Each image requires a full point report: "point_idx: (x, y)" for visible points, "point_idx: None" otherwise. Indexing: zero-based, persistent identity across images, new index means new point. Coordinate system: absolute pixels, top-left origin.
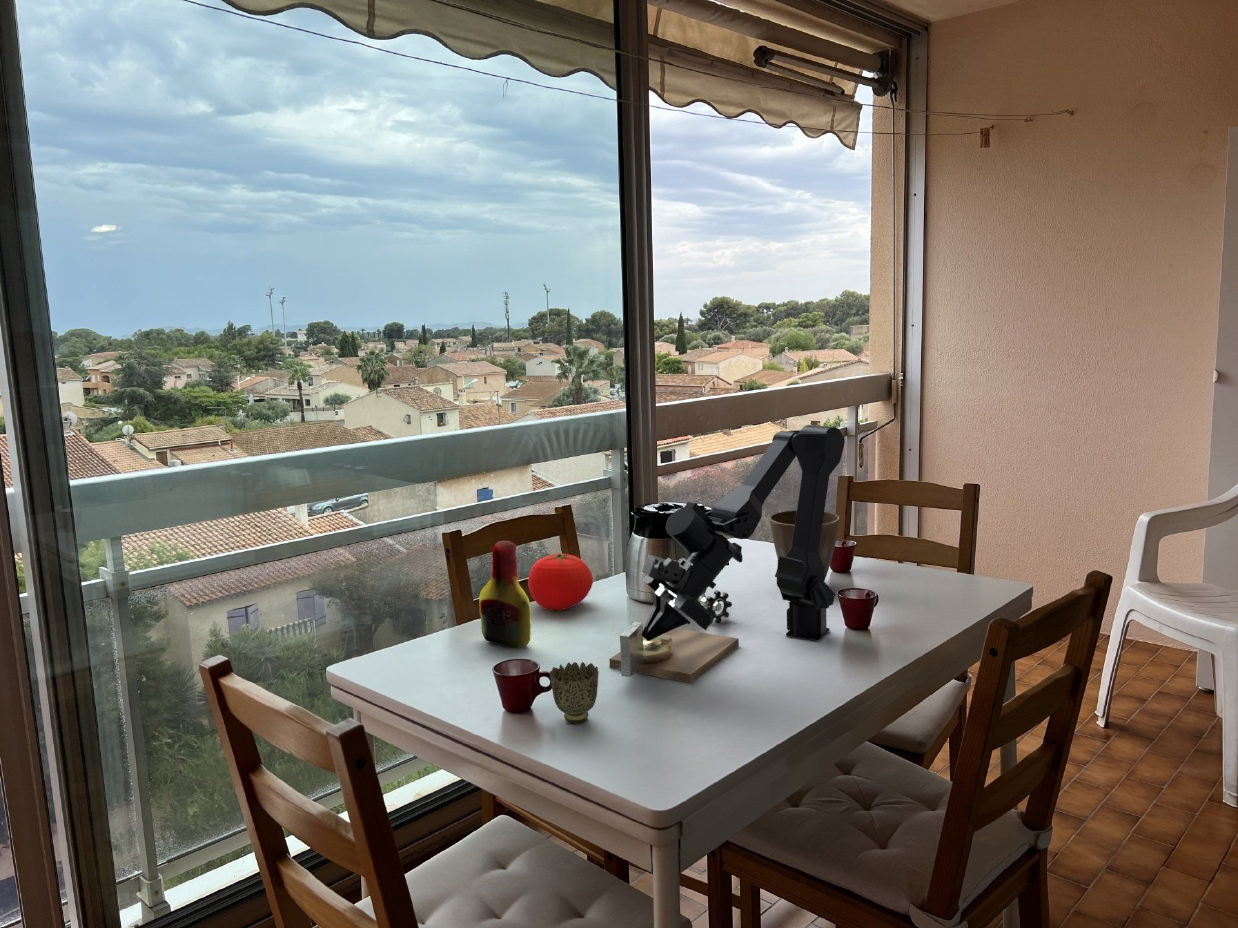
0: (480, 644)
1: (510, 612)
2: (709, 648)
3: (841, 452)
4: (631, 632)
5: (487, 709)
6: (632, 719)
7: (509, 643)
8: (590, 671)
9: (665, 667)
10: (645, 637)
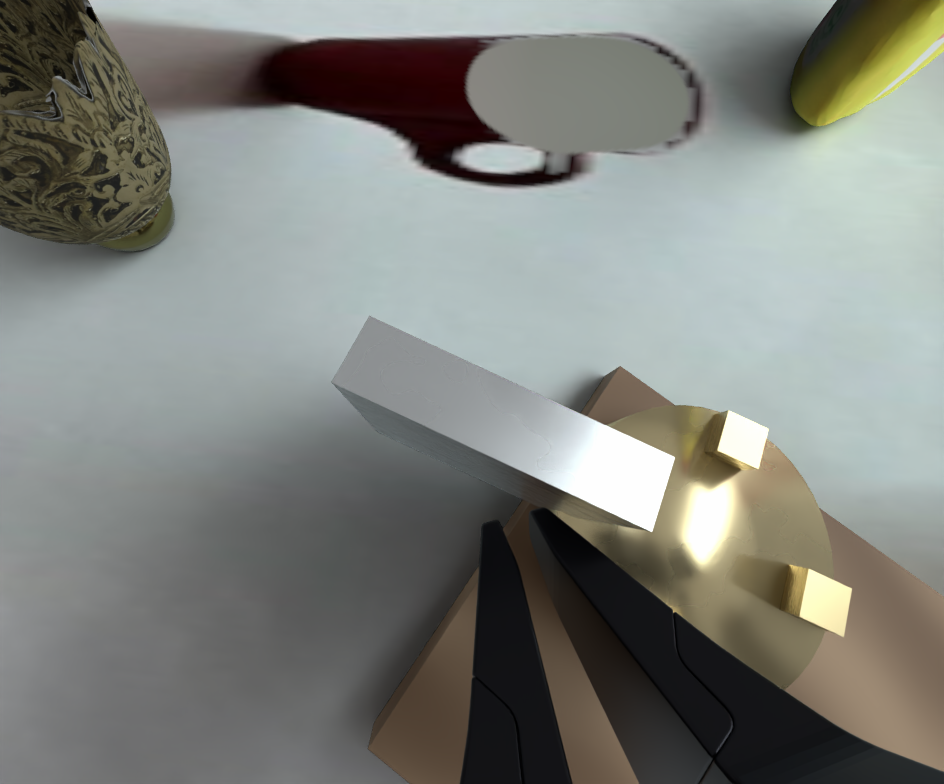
0: (820, 18)
1: None
2: None
3: None
4: (420, 411)
5: (315, 2)
6: (66, 410)
7: (797, 64)
8: (34, 148)
9: None
10: (482, 530)
